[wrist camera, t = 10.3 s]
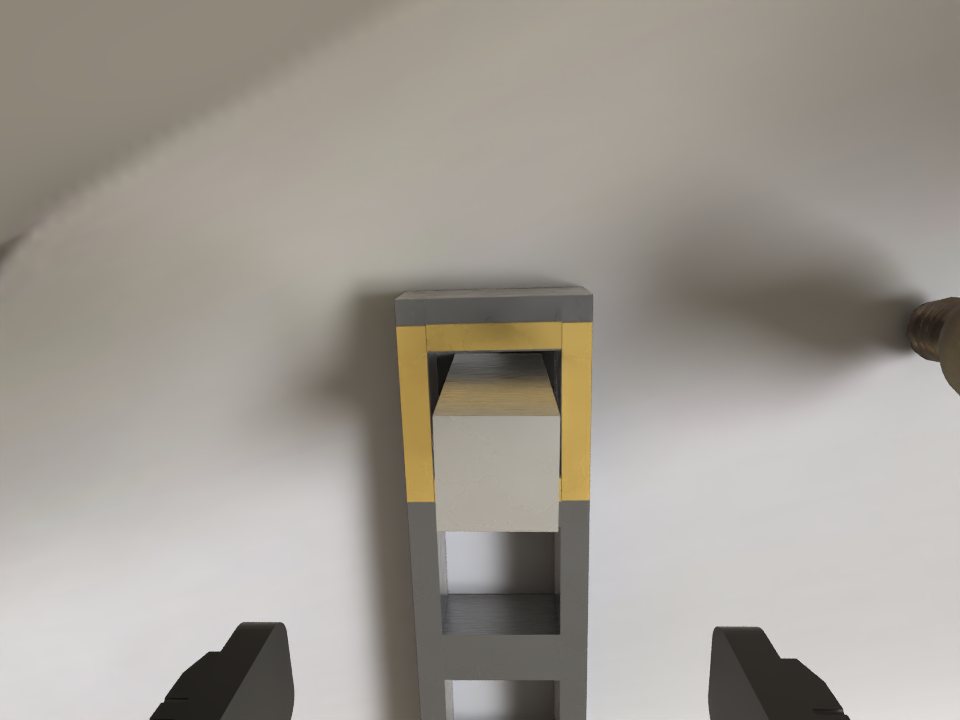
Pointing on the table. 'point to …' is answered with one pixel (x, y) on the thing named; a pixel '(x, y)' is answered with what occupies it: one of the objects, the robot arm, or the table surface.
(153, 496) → the table surface
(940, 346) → the beige stone carving
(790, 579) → the table surface
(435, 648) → the grey long flat frame
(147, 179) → the table surface
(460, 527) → the brushed metal square block
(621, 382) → the table surface
